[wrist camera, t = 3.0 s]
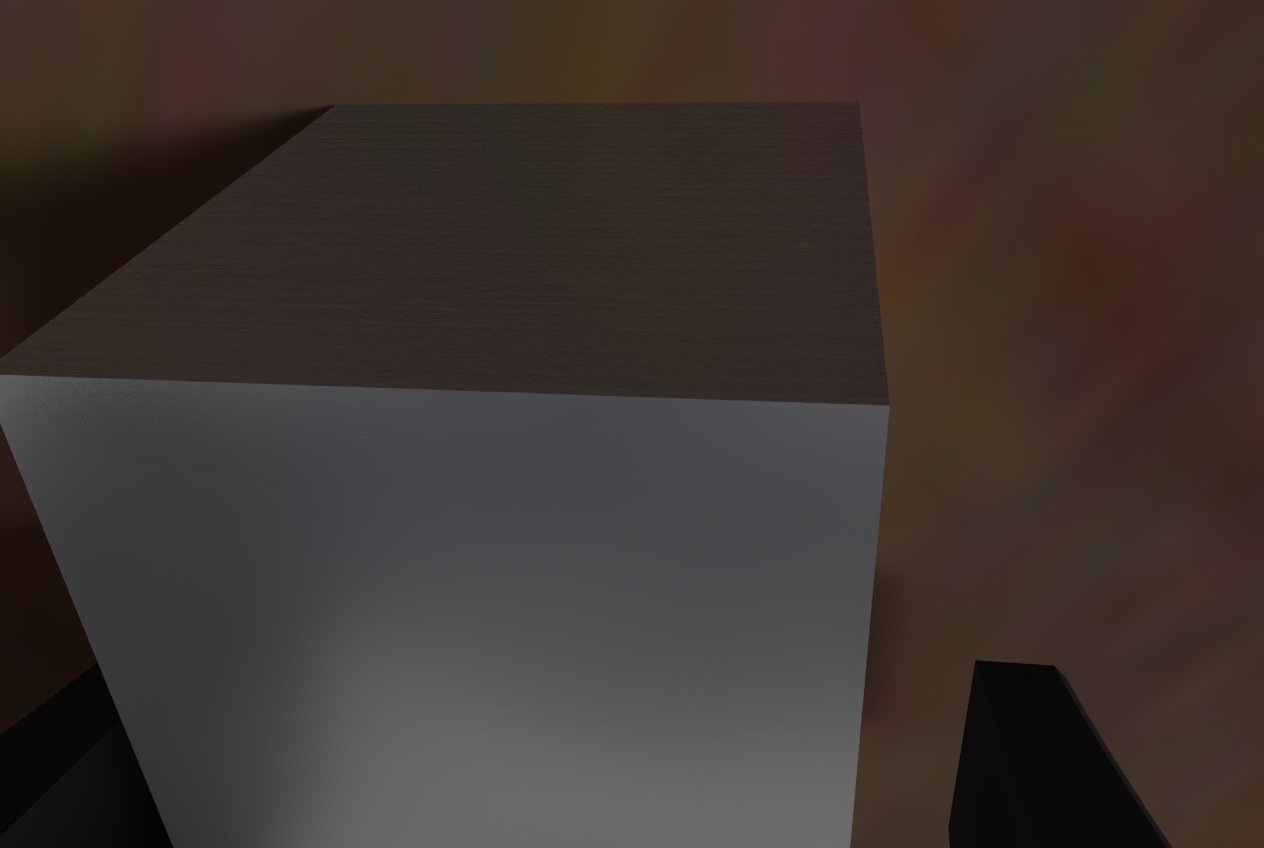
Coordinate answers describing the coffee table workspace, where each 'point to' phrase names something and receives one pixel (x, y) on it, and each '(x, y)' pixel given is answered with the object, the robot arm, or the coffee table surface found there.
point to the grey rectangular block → (485, 481)
